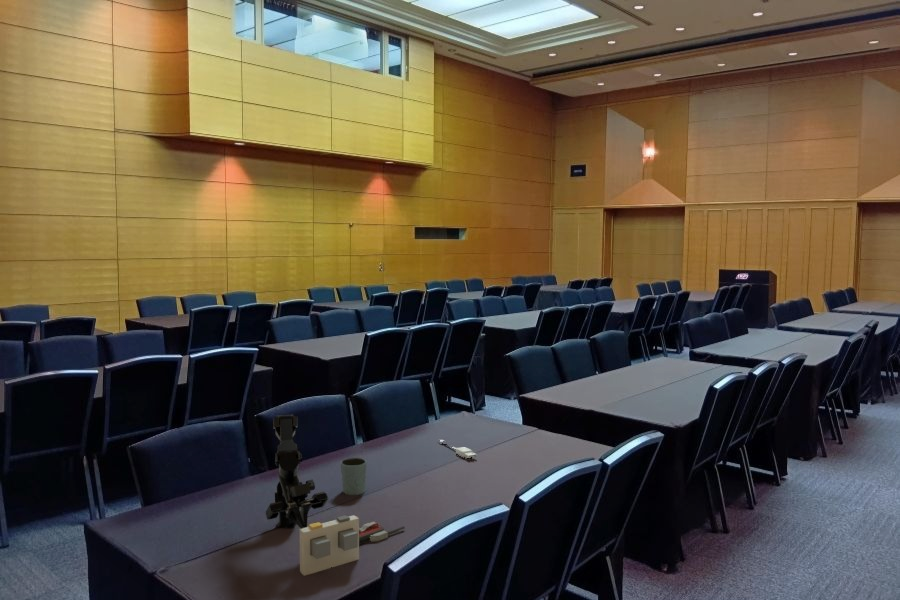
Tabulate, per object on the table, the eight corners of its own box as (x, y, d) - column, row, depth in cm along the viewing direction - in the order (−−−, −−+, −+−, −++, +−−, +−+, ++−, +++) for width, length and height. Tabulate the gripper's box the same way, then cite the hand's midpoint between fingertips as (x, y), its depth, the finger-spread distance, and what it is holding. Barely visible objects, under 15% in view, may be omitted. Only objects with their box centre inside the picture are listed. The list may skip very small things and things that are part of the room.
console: (299, 571, 198) (299, 526, 197) (354, 555, 209) (354, 512, 208) (304, 575, 196) (303, 530, 195) (358, 559, 206) (358, 515, 205)
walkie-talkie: (357, 550, 213) (406, 532, 227) (357, 536, 213) (406, 519, 227) (342, 541, 220) (390, 524, 233) (342, 528, 219) (390, 511, 233)
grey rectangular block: (303, 547, 201) (303, 533, 201) (317, 543, 204) (317, 529, 203) (316, 559, 194) (316, 544, 193) (330, 555, 196) (330, 540, 196)
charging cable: (443, 443, 332) (443, 436, 331) (477, 459, 303) (477, 452, 303) (434, 445, 329) (434, 438, 329) (467, 461, 301) (467, 453, 301)
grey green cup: (361, 497, 257) (361, 466, 256) (336, 494, 259) (336, 464, 258) (370, 487, 267) (369, 458, 266) (345, 485, 269) (345, 456, 268)
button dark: (331, 540, 206) (330, 526, 206) (343, 536, 209) (343, 522, 209) (344, 551, 199) (344, 536, 199) (357, 547, 202) (357, 533, 201)
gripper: (268, 477, 202) (282, 525, 194) (325, 466, 213) (341, 511, 205) (259, 495, 209) (273, 542, 201) (315, 484, 220) (330, 528, 212)
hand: (305, 530), depth 204 cm, fingers closed
